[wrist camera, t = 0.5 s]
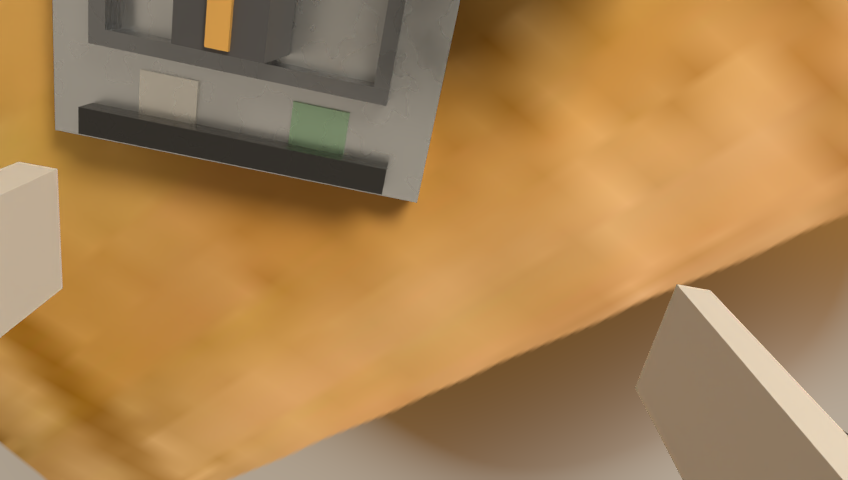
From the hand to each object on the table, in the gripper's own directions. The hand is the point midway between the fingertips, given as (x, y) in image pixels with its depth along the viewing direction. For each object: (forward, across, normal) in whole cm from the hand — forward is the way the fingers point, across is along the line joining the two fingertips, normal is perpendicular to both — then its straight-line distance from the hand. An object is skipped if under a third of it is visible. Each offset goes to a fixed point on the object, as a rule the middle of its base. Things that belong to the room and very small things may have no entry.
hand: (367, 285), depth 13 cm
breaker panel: (+22, -8, +4) cm, 24 cm away
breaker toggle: (+20, -8, +4) cm, 22 cm away
